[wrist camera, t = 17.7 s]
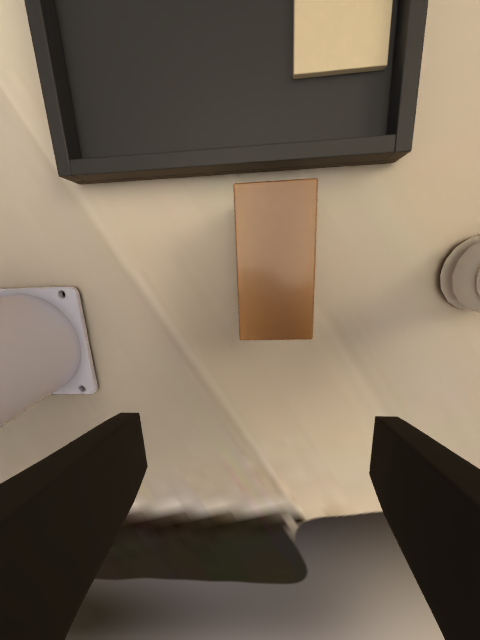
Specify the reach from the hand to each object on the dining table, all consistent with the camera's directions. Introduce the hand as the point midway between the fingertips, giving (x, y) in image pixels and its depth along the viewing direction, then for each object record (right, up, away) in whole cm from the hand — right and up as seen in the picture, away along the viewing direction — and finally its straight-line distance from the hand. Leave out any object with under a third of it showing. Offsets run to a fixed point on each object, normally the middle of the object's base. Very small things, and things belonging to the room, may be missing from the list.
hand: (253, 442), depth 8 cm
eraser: (+2, +7, +8) cm, 11 cm away
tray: (-1, +18, +6) cm, 19 cm away
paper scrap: (+4, +18, +5) cm, 19 cm away
